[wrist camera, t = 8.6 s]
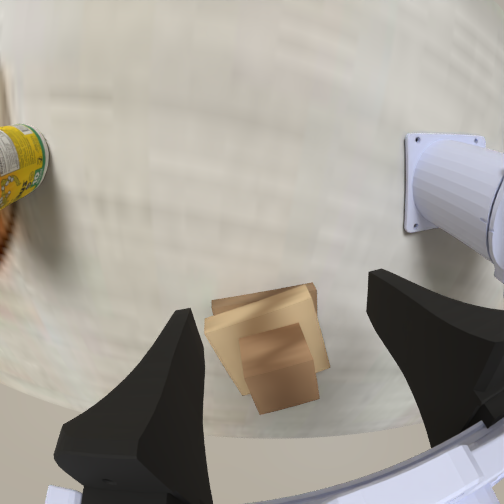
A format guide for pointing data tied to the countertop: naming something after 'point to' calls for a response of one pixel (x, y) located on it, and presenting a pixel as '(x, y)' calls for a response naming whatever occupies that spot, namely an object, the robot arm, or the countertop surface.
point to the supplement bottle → (21, 161)
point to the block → (278, 368)
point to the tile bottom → (255, 299)
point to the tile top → (265, 329)
